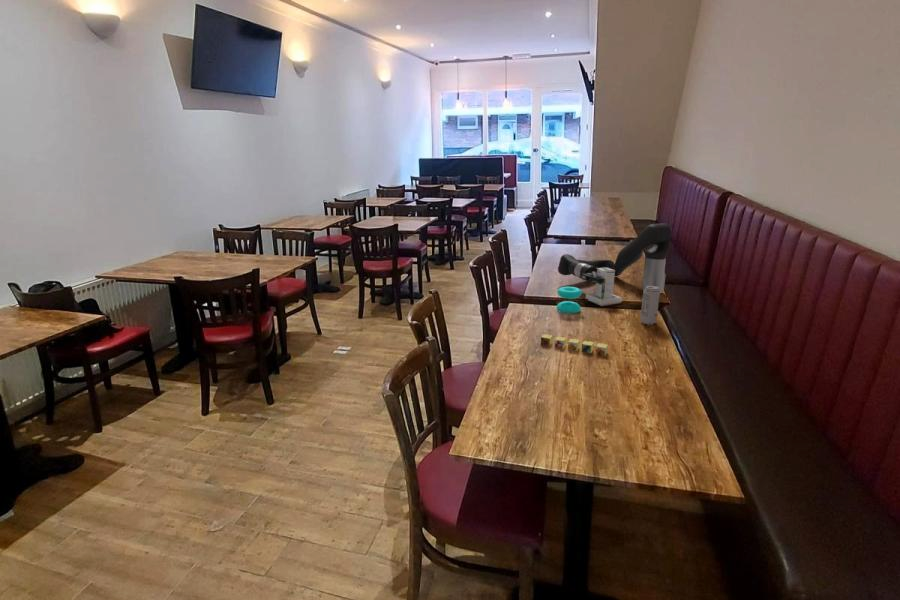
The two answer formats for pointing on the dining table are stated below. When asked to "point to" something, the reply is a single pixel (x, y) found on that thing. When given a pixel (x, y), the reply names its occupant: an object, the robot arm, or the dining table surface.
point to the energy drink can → (650, 305)
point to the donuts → (569, 294)
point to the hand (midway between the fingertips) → (608, 280)
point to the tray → (604, 300)
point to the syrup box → (605, 283)
